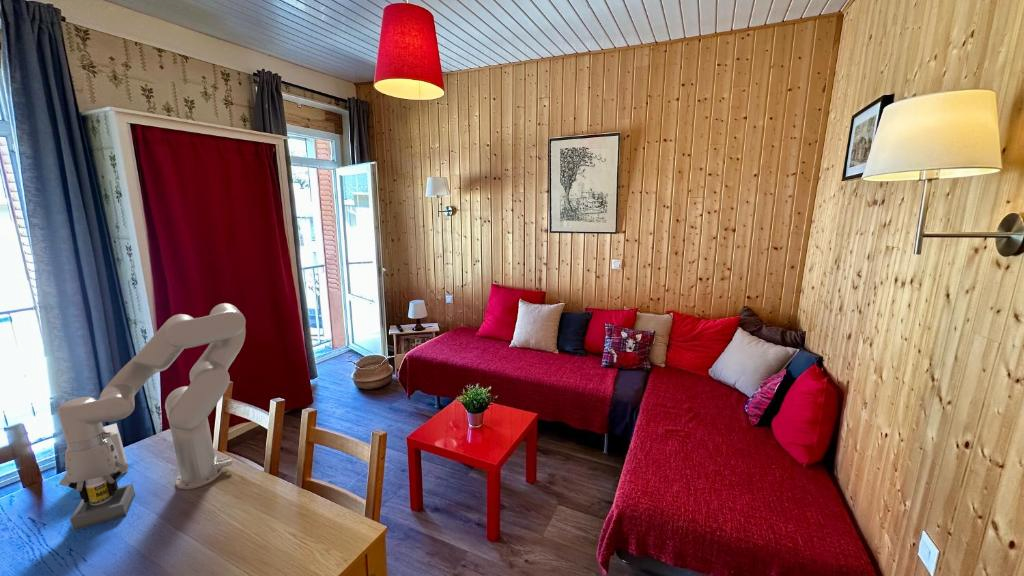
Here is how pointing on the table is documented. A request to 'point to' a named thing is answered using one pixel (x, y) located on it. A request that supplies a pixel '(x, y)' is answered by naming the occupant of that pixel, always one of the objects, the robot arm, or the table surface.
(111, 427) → the supplement box
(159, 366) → the robot arm
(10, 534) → the table surface
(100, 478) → the supplement bottle
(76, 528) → the bin
